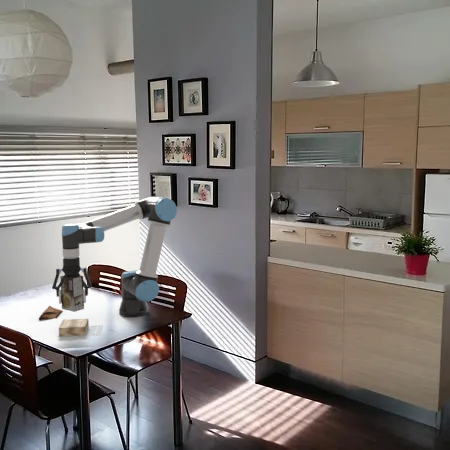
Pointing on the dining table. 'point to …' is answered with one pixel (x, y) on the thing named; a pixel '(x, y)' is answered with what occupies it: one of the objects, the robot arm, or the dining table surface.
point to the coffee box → (72, 293)
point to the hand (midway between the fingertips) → (72, 302)
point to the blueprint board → (90, 331)
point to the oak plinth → (73, 327)
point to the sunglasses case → (50, 313)
